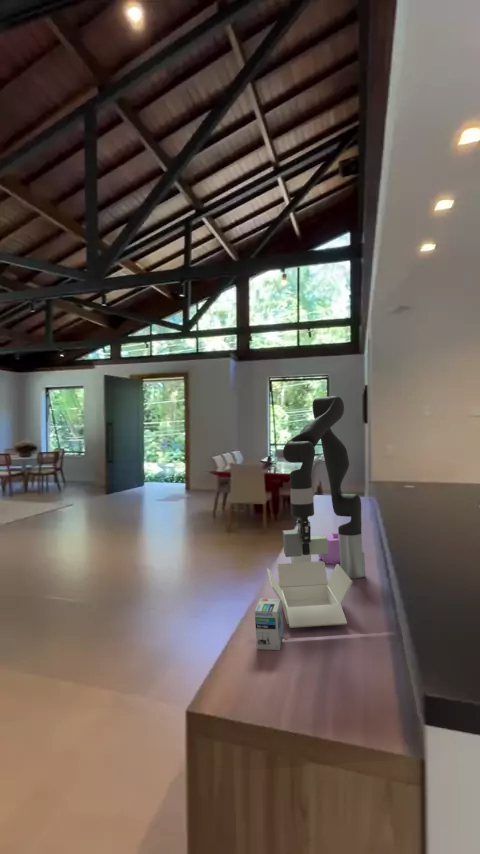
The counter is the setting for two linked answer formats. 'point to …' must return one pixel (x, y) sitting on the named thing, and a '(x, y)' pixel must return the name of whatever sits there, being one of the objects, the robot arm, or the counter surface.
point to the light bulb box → (269, 624)
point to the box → (294, 544)
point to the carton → (311, 593)
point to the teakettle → (332, 549)
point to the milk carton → (301, 558)
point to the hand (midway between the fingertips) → (305, 552)
